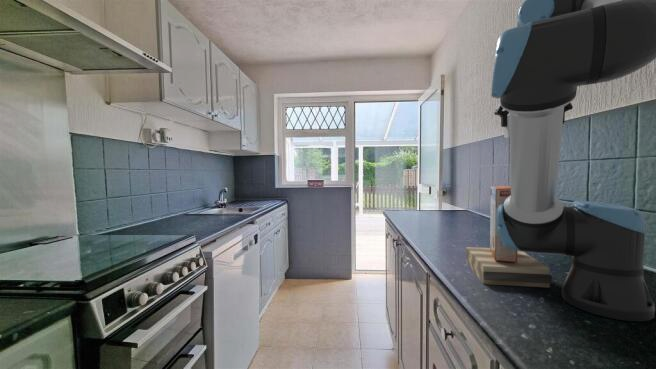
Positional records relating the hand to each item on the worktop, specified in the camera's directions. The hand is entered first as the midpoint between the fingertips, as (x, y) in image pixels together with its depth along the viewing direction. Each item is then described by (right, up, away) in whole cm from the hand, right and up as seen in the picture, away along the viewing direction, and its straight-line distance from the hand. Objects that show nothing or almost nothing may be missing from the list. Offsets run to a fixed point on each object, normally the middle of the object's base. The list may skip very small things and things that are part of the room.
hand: (531, 136), depth 87 cm
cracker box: (-9, -36, 0) cm, 37 cm away
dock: (-9, -41, 0) cm, 42 cm away
